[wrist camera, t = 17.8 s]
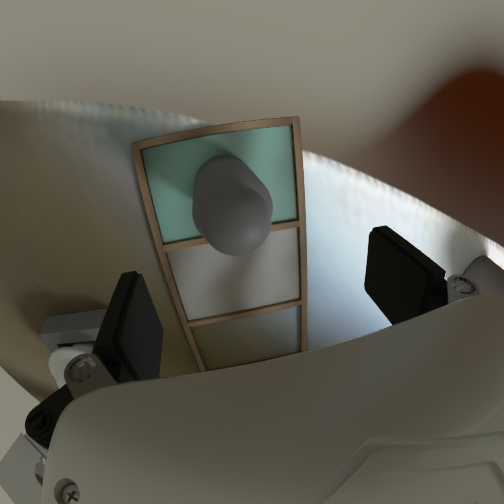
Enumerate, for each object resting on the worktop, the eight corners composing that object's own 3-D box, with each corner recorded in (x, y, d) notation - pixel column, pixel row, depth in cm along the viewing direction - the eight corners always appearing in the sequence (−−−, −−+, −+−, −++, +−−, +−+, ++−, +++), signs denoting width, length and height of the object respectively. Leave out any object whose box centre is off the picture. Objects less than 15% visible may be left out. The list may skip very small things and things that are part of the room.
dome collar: (111, 307, 26) (105, 327, 23) (141, 363, 30) (139, 382, 28) (47, 316, 25) (39, 334, 22) (82, 367, 29) (77, 385, 27)
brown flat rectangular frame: (297, 116, 21) (299, 116, 20) (304, 353, 34) (305, 356, 34) (132, 143, 19) (130, 144, 19) (203, 374, 33) (203, 377, 32)
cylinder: (250, 150, 21) (285, 179, 13) (257, 207, 23) (291, 267, 15) (189, 161, 21) (181, 197, 12) (200, 217, 23) (202, 285, 14)
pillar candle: (494, 254, 35) (550, 301, 22) (474, 300, 39) (522, 350, 26) (468, 256, 33) (533, 313, 20) (446, 308, 37) (498, 368, 24)
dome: (106, 321, 24) (91, 376, 18) (137, 372, 28) (132, 423, 22) (45, 328, 23) (25, 375, 17) (80, 376, 28) (69, 421, 22)
